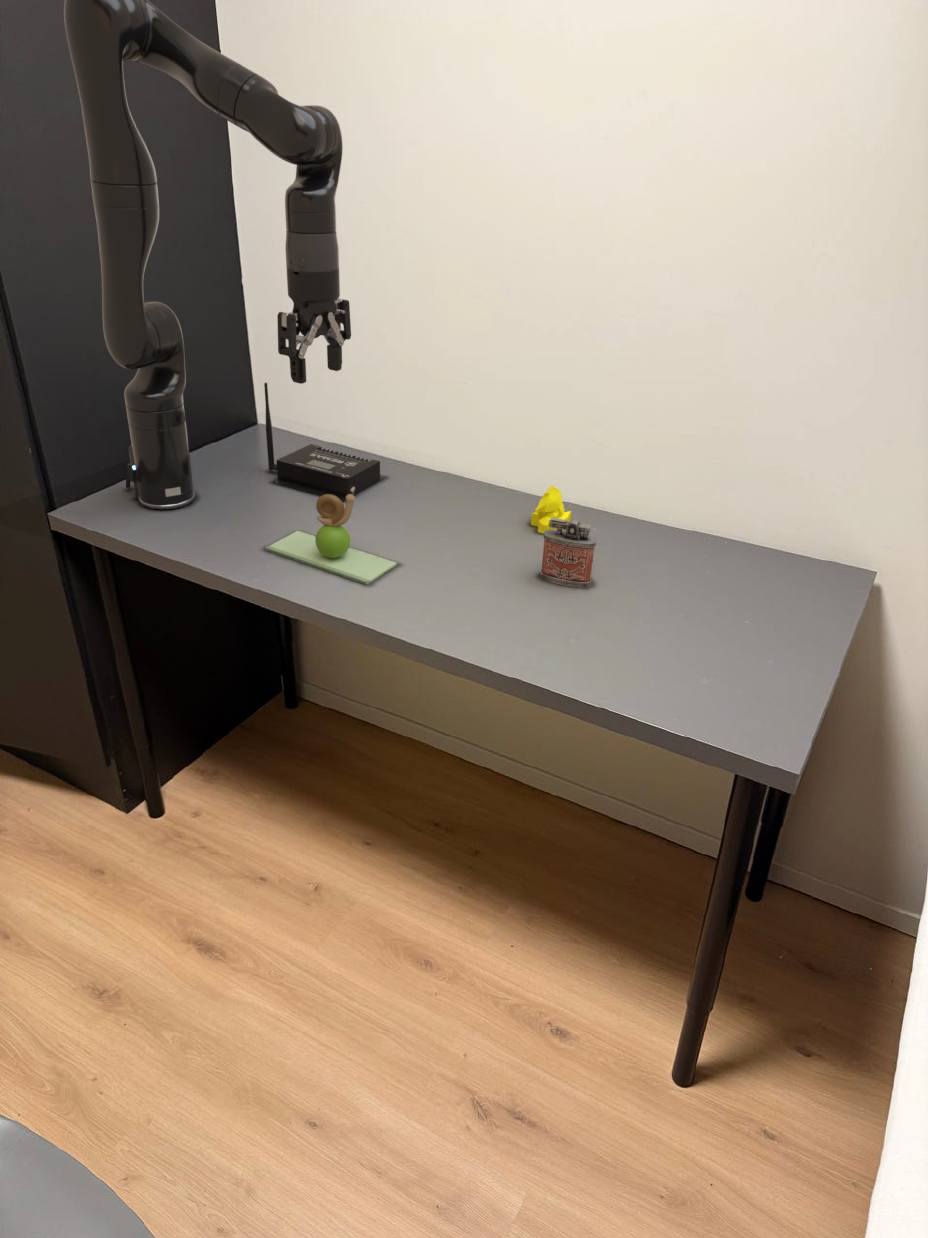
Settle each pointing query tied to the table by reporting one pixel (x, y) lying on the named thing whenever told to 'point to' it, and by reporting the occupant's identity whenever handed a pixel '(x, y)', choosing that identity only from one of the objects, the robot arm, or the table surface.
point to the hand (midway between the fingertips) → (317, 375)
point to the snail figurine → (333, 524)
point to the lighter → (568, 553)
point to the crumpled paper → (549, 510)
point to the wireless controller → (320, 468)
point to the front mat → (347, 565)
